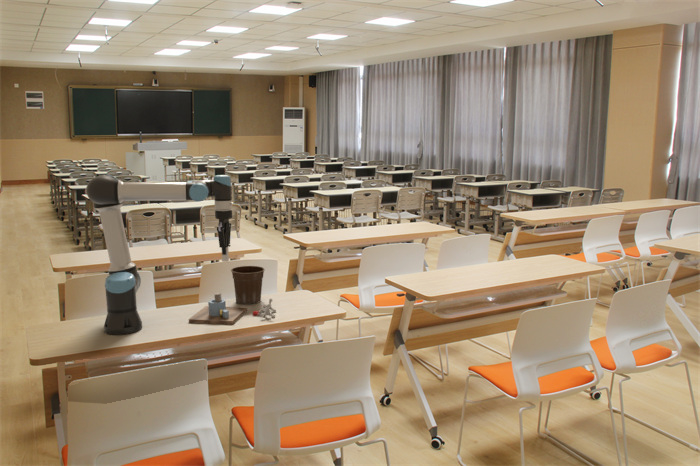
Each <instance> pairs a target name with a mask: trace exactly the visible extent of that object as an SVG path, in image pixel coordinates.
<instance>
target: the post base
mask: <svg viewBox="0 0 700 466" xmlns="http://www.w3.org/2000/svg"><path fill="white" fill-rule="evenodd" d="M213 297H214V299H215V302H222V300H221V299H222V293H220V292H217V293H216V292H215V293H214V296H213ZM247 309H248V307H237V306H226V310H227V311H229V318H223V317H222V318H220V316H211V315H209V306H208V305H205V306H204V307H202V308H201V309H200V310H199V311H198V312H196V313H194V314H193V316H191V317H190V318H189V319H188V323H191V324H193V323H195V324H213V325H217V324H218V325H234V324H235V323H236V322H237V321H238V320H239V319H240V318H241V317H242V316H243V315H244V314H246V312H247V311H248V310H247Z"/></svg>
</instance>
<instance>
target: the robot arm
mask: <svg viewBox="0 0 700 466" xmlns="http://www.w3.org/2000/svg"><path fill="white" fill-rule="evenodd" d="M85 189H86V190H85V192H86V195H87V198H88V199H89V200H90V201H91V202H92V204H93V208H94V210H96V211H97V212H99V216H100V222H101V226H102V231H103V232H102V233H103V236H104V240H105V245H106V248H107V249H106V250H107V253H108V258H109V264H110V266H109V268H108V269H107V273H108V275H107V276H106V278H105V280H104V281H105V282H104V287H105V297H106V298H105V300H106V309H107V310H106V311H107V314H106V317H105V321H104V325H103V331H104V333H105V334H107V335H114V336H115V335H116V336H117V335H118V336H120V335H128V334H133V333H136V332H138V331H141V329H143V321H142V319H141V317H140V315H139V312H138V308H137V306H138V305H137V292H138V291H139V289H140V287H141V282H142V281H141V276H140V274H139V272H138V269H137V264H136V263H135V262H133V261H132V258H131V253H130V249H129V244H128V240H127V234H126V231H125V226H124V221H123V215H122V211H121V207H122V206H123V205H124V202H125V201H126V202H128V201H129V202H130V201H131V202H132V201H133V202H135V201H136V202H141V201H143V202H147V201H151V202H153V201H157V202H158V201H161V202H162V201H188V202H189V201H190V202H191V201H194V202H202V201H205V200H206V199H207V198H214V217H215V219H216V220H218V224H217V227H216V232H217V236H218V244H219V245H218V246H219V248H221V261H222V262H229V261H230V255H229V251H230V250H229V247H231V230H232V222H230V220H231V219H232V218H233V211H232V208H233V204H234V202H232V201H233V200H232V198H233V197H232V179H231V176H230V175H226V174H217V175H214V176H213V179H206V180H205V179H204V180H203V179H201V180H199V179H192V180H187V181H186V182H138V181H137V182H123V181H122V180H121V179H118V178H117V177H115V176H114V175H111V174H100V175H97V176H96V177H93V178H92V179H91V180H89V181H88V183H87V185H86V188H85Z"/></svg>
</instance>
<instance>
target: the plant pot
mask: <svg viewBox="0 0 700 466" xmlns="http://www.w3.org/2000/svg"><path fill="white" fill-rule="evenodd" d="M265 270H266V269H265V268H264V267H263V266H258V265H240V266H236V267H233V268H231V269H230V272H231V273H232V279H233V283H234V284H233V285H234V294H235V295H234V296H235V301H236V303H238V304H241V305H253V304H254V303H255V304H257V303H260V302H261V301H262V291H263V290H262V288H263V279H264V273H265Z"/></svg>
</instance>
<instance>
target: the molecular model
mask: <svg viewBox="0 0 700 466" xmlns="http://www.w3.org/2000/svg"><path fill="white" fill-rule="evenodd" d="M268 301H269V302H268V304H264V305H263V308H261V309H260V310H254V311H252V315H253V316H254V317H255V316H258V315H260V317H262V318H263V317H264V316H265V315H269V316H270V317H271V318H273V319H274V318H275V317H276V315H275V314H272V313H271V311H272V312H273V313H277V310H276V309H274V308H273V307H272V302H273V298H269V299H268ZM270 310H271V311H270Z"/></svg>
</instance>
